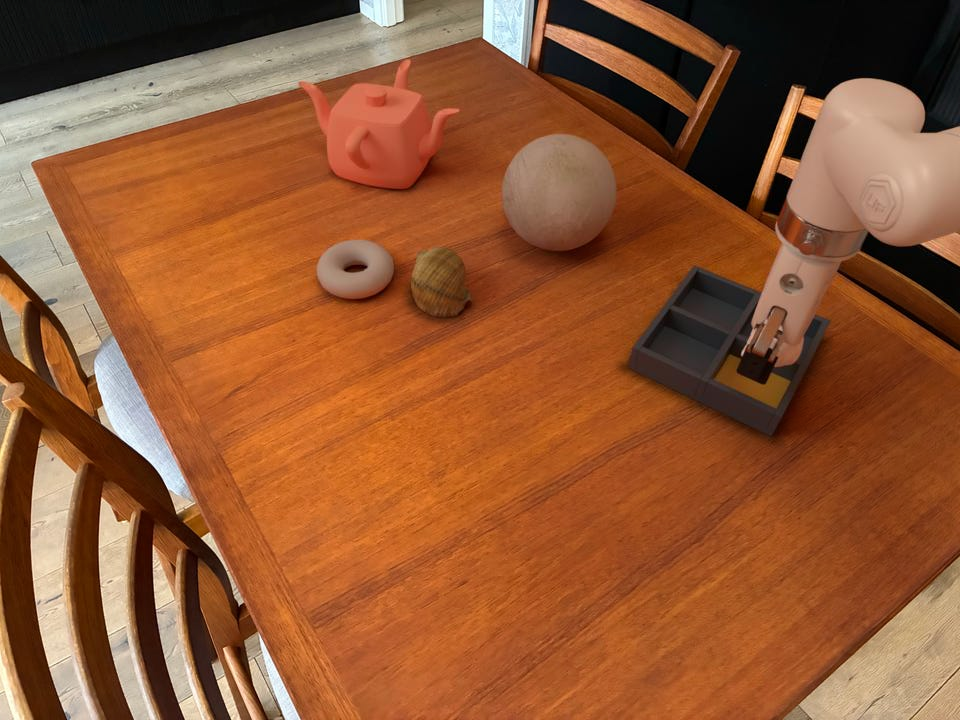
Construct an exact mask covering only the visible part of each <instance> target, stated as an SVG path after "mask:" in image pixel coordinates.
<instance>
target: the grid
mask: <svg viewBox="0 0 960 720" xmlns="http://www.w3.org/2000/svg"><path fill="white" fill-rule="evenodd" d="M761 293H762V292H761V291H759V290H756V289H754V288H752V287H749V286H747V285H744V284H742V283H739V282H737V281H734V280H731V279H729V278H727V277H725V276H722V275H719V274H717V273H714V272H713V271H710V270H707V269H706V268H702V267H700V266H697V265H695V264H693V266H692V267H691V268H690V269H689V271H688V273H687V274H686V275H685V276H684V278H683V279H682V280H681V282H680V283H679V284H678V286H677V287H676V289H675V290H674V291H673V293H672V294H671V295H670V296H669V298H667V301H666V302H665V303H664V305H662V307H661V309H660V310H659V311H658V313H657V314H656V315H655V317H654V318H653V319H652V321H651V322H650V323H649V325H648V326H647V328H646V329H645V330H644V332H643V333H642V334H641V335H640V337H639V338H638V340H637V341H636V342H635V344H634V345H633V346H632V349H631V353H630V357H629V360H628V365H627V368H628V369H629V370H632V371H633V372H636V373H638V374H640V375H641V376H644V377H646V378H648V379H650V380H652V381H654V382H656V383H658V384H660V385H663V386H665V387H667V388H669V389H671V390H673V391H675V392H677V393H679V394H682V395H684V396H685V397H688V398H690V399H691V400H693V401H696V402H698V403H700V404H703V405H704V406H706V407H708V408H711V409H712V410H714V411H717V412H719V413H721V414H723V415H725V416H727V417H729V418H731V419H733V420H736V421H738V422H740V423H742V424H744V425H745V426H747V427H750V428H752V429H754V430H756V431H759V432H760V433H762V434H765V435H767V436H769V437H773V435H774V433H775V431H776V429H777V427H778V425H779V424H780V422H781V420H782V418H783V416H784V414H785V411H786V410H787V409H788V406H789V404H790V402H791V401H792V398H793V396H794V395H795V393H796V390H797V388H798V387H799V385H800V383H801V381H802V379H803V377H804V375H805V374H806V371H807V369H808V367H809V366H810V363H811V361H812V359H813V358H814V355H815V353H816V352H817V349H818V348H819V346H820V343H821V342H822V340H823V339H824V335H825V334H826V332H827V330H828V328H829V326H830V324H831V323H832V320H830V319H828V318H826V317H823V316H821V315H819V314H817V313H816V314H815V316H814V318H813V320H812V321H811V323H810V325H809V327H808V329H807V331H806V332H805V334H804V336H803V338H804V342H803V347H802V351H801V354H800V356H799V358H798V359H797V360H796V361H795V362H794V363H793V364H791V365H784V366H781V367H774V368H773V370H772V372H771V374H770V376H769V379H768V381H767V382H766V384H765V385H762V384H760V383H758V382H755V381H753V380H751V379H749V378H746V377H744V376H742V375H740V374H738V373H737V371H736V370H737V368H738V365H739V363H740V361H741V358H742V355H741V353H742V351H743V349H744V347H745V346H746V345H747V341H748V339H749V337H750V335H751V332H752V329H753V327H752V325H751V322H752V318H753V315H754V313H755V310H756V307H757V304H758V301H759V299H760V296H761Z"/></svg>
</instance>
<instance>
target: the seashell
mask: <svg viewBox="0 0 960 720" xmlns="http://www.w3.org/2000/svg"><path fill="white" fill-rule="evenodd" d="M465 265H466V264H465V263H464V260H462V258H461V256H460V255H458V253H457V252H456V251H454V250H452V249H450V248H448V247H445V246H435V247H433V248H430V249H427V250H423V251H418V252H417V255H416V261H415V262H414V268H413V270H412V273H411V276H410V289H411V292H412V293H411V294H412V298H413V301H414V303H415V305H416V306H417V307H418V309H420V310H421V311H422V312H423V313H425V314H428V315H430V316H433V317H435V318H442V319H443V318H444V319H445V318H453V317H457V316H458V315H459V314H460V312H461V311H462V310H463V309H464V308H465V305H466V304H467V302H468V303H473V299H472V293H471V291H470V290H469V289H467V286H466V278H467V270H466V266H465Z"/></svg>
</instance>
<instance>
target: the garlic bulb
mask: <svg viewBox="0 0 960 720" xmlns="http://www.w3.org/2000/svg"><path fill="white" fill-rule="evenodd" d="M766 322H767V319H766V321H765V323H764V324H766ZM756 329H757V328H756ZM756 329H755V330H754V329H752V332H751V335H750V337H749V339H748V341H747V345H748V344H750V342H751V340H752V338H753V335H754V333H755V331H756ZM778 330H780V331H783V330H782V326H781V325H780V327H779V329H778ZM777 340H778V339H776V338H774V339H773V341H772V343H771V345H770V348H771V349H772V350H773V348H774V346H775V344H776V342H777ZM803 342H804V338H802V340H801V341H800V343H799V344H797V345H795V346H791V345H790V344H787V343H784V341H783V343H782V345H781V347H780V349H779V351H778V353H777V355H776V356H777V357H778V360H777V362H776V364H775V366H774V367H781V366H784V365H791V364H793V363H794V362H795V361H796V360H797V359H798V358H799V356H800V354H801V351H802V347H803ZM747 345H746V346H747ZM746 346H745V347H744V349H743V351H742V353H741V355H742V356H743V353H744V351H745V349H746Z"/></svg>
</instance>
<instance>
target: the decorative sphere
mask: <svg viewBox="0 0 960 720" xmlns="http://www.w3.org/2000/svg"><path fill="white" fill-rule="evenodd" d="M617 193H618V191H617V180H616V176H615V172H614V169H613V167H612V166H611V163H610V161H609V159H608V158H607V157H606V155H605V154H604V153H603V152H602V151H601V149H600V148H599V147H597V146H596V145H595V144H594V143H592V142H591V141H589V140H587V139H585V138H583V137H580V136H578V135H575V134H569V133H551V134H548V135H547V134H546V135H544V136H541V137H538V138H536V139H534V140H532V141H530V142H528V143H527V144H526V145H525V146H523V147H522V148H520V150H519V151H518V152H517V153H516V154H515V155H514V157H513V158H512V159H511V161H510V162H509V164H508V166H507V168H506V171H505V174H504V177H503V180H502V184H501V202H502V208H503V211H504V214H505V217H506V220H507V221H508V223H509V225H510V227H511V228H512V229H513V231H514V232H515V233H516V234H517V236H519V237H520V238H521V239H522V240H524V241H525V242H527V243H528V244H530V245H532V246H534V247H536V248H538V249H542V250H544V251H545V250H546V251H550V252H564V251H565V252H566V251H570V250H573V249H576V248H577V249H578V248H580V247H582V246H585V245H586V244H588V243H589V242H590V241H593V239H595V238H596V237H598V236H599V234H600V233H602V232H603V230H604V229H605V227H606V226H607V225H608V223H609V221H610V219H611V217H612V215H613V212H614V210H615V207H616V203H617Z"/></svg>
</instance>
